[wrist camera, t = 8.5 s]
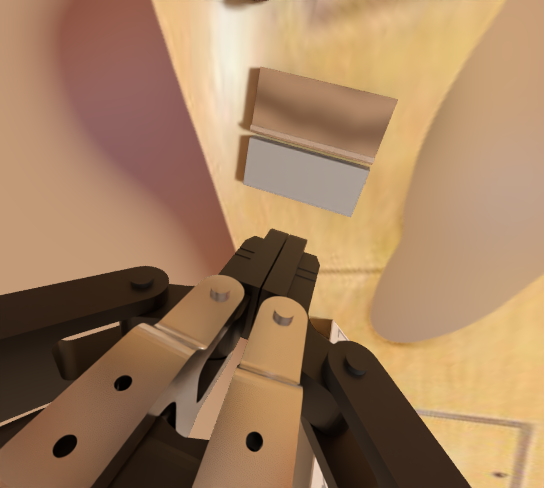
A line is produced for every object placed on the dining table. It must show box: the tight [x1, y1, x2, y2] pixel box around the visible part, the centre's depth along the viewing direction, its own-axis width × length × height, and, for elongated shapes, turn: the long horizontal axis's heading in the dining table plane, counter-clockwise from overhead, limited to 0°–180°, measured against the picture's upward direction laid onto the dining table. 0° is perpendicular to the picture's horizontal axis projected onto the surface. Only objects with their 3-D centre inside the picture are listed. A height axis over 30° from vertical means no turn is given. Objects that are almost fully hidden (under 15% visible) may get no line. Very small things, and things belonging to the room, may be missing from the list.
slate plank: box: [243, 135, 370, 217], centre depth 40 cm, size 7×17×2 cm, turn 78°
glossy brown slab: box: [250, 67, 398, 165], centre depth 35 cm, size 8×17×2 cm, turn 78°
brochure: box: [292, 320, 349, 488], centre depth 43 cm, size 14×6×30 cm, turn 38°
